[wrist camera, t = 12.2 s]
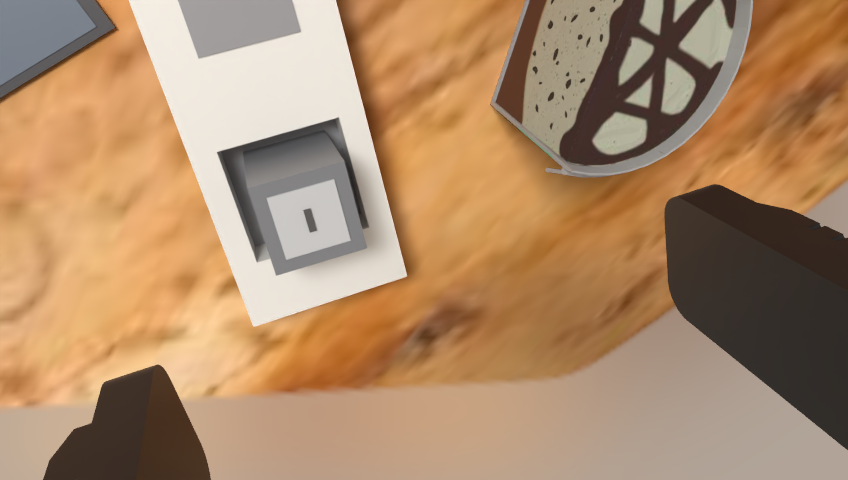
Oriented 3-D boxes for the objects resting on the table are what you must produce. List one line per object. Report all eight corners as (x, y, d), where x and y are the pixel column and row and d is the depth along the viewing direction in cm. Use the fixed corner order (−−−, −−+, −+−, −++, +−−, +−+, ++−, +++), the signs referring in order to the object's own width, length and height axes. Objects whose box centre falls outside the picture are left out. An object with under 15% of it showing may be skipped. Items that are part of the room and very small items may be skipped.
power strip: (27, -294, 25) (-1, -332, 22) (239, -330, 26) (242, -371, 23) (251, 300, 36) (254, 332, 33) (393, 254, 37) (410, 281, 34)
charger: (242, 151, 32) (247, 189, 27) (324, 129, 33) (345, 162, 27) (267, 227, 34) (276, 277, 28) (344, 204, 35) (367, 249, 29)
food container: (577, 158, 38) (686, 216, 29) (480, 131, 36) (566, 185, 27) (664, -69, 35) (817, -82, 26) (563, -114, 33) (692, -145, 24)
